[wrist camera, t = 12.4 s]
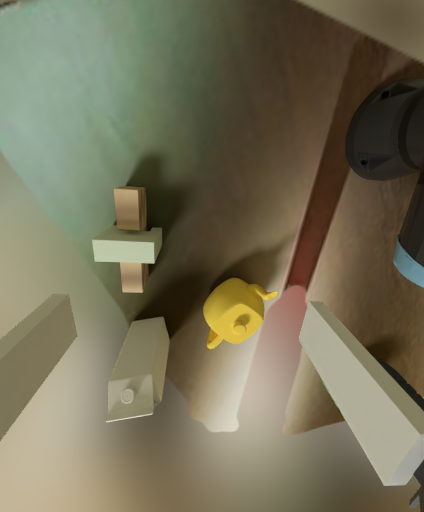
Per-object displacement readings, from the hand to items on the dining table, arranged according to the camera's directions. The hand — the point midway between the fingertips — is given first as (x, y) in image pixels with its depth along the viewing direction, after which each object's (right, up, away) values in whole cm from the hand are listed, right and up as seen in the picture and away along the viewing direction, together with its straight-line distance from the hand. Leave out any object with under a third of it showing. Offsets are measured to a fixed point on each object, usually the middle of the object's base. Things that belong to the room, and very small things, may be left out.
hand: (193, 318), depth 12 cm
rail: (-13, +7, +29) cm, 33 cm away
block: (-13, +7, +29) cm, 33 cm away
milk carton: (-13, -14, +38) cm, 43 cm away
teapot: (+6, -5, +36) cm, 37 cm away
